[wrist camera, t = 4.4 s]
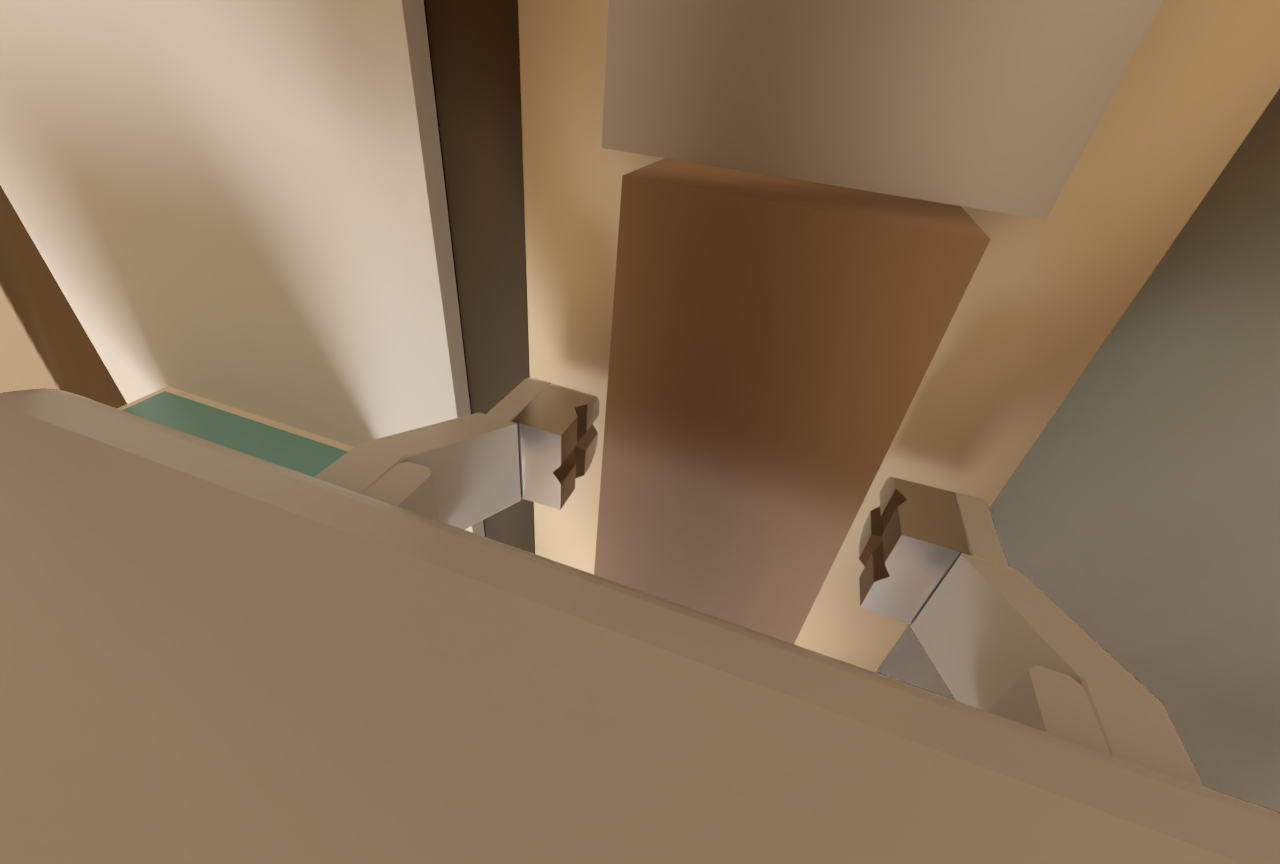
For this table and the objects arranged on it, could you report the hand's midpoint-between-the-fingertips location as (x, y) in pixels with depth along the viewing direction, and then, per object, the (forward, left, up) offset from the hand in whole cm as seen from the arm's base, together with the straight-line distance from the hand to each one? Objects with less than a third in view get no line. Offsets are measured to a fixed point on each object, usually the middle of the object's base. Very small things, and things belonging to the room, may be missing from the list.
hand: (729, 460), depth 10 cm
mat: (+15, -1, -2) cm, 15 cm away
